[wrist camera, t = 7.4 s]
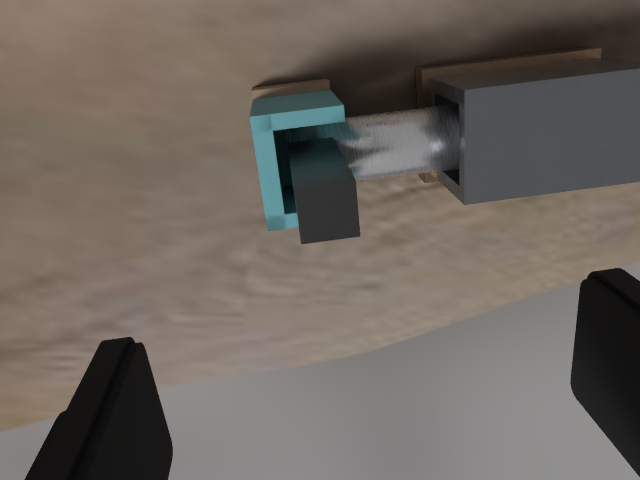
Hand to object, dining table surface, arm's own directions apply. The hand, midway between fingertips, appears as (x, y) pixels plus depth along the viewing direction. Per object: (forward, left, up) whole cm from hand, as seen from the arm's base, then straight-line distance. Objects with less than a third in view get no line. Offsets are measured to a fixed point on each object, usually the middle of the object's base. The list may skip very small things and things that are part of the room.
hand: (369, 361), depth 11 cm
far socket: (0, 0, -24) cm, 24 cm away
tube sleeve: (0, +13, -24) cm, 28 cm away
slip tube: (0, +5, -22) cm, 22 cm away
